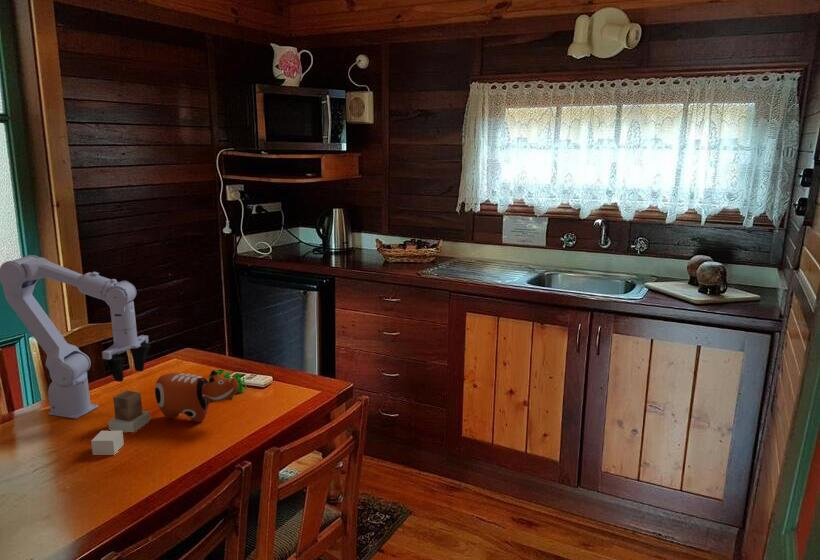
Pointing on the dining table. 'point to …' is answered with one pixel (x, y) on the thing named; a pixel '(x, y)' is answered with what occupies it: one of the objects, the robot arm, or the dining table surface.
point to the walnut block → (127, 405)
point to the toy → (191, 393)
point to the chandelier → (233, 377)
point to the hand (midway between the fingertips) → (129, 375)
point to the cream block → (107, 443)
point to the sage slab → (129, 423)
